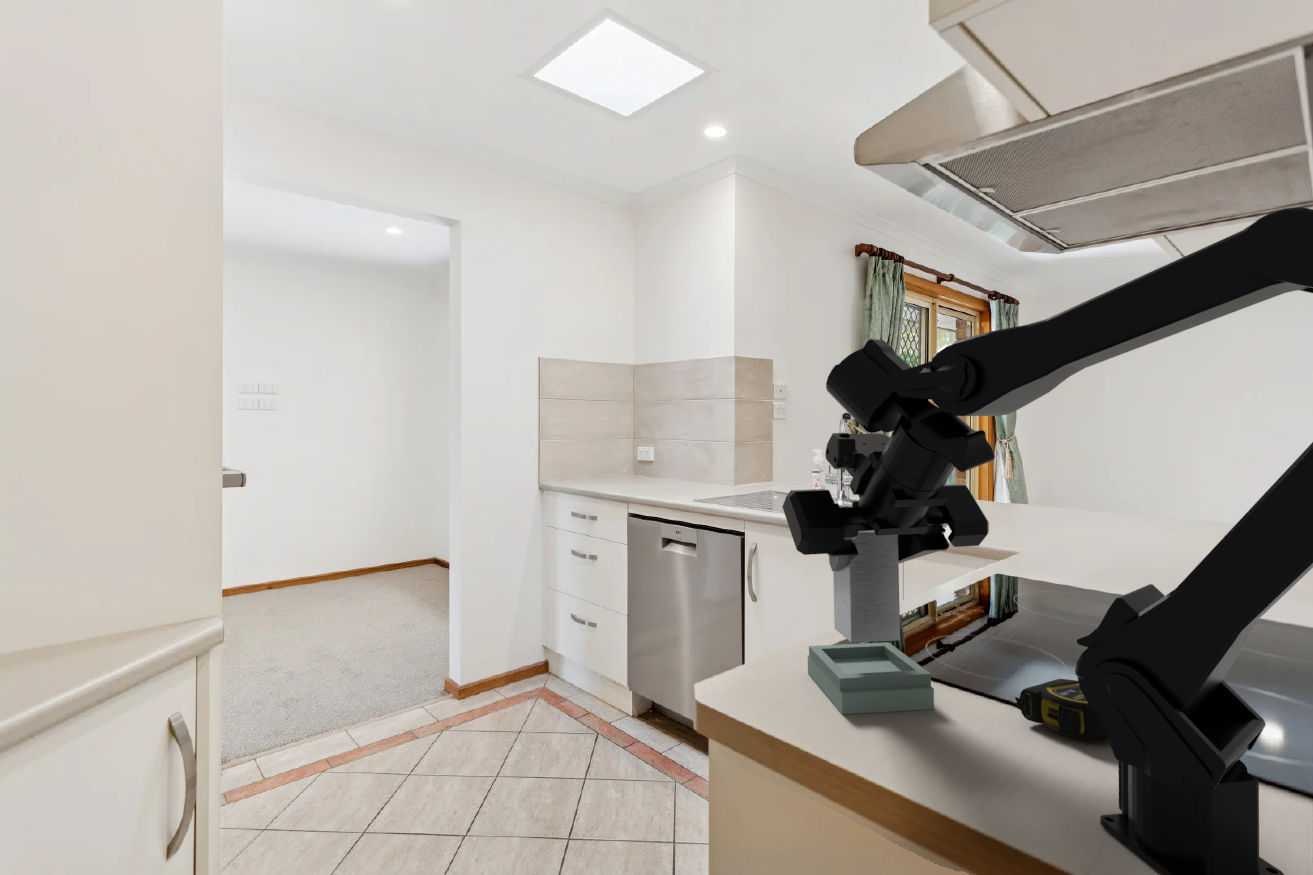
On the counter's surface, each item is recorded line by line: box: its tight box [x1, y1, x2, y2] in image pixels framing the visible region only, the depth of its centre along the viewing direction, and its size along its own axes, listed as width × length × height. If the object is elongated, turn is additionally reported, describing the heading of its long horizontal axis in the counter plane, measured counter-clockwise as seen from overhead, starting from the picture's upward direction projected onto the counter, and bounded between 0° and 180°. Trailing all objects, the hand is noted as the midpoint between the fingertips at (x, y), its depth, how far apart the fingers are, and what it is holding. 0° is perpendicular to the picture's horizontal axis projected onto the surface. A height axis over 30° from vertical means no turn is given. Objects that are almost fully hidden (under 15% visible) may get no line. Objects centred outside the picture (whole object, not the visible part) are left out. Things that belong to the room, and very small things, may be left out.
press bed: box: [807, 641, 935, 715], centre depth 65 cm, size 10×9×3 cm
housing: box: [832, 499, 901, 644], centre depth 64 cm, size 4×5×14 cm
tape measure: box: [1014, 678, 1109, 741], centre depth 56 cm, size 7×7×4 cm
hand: (857, 565), depth 66 cm, fingers closed on housing, 5 cm apart
